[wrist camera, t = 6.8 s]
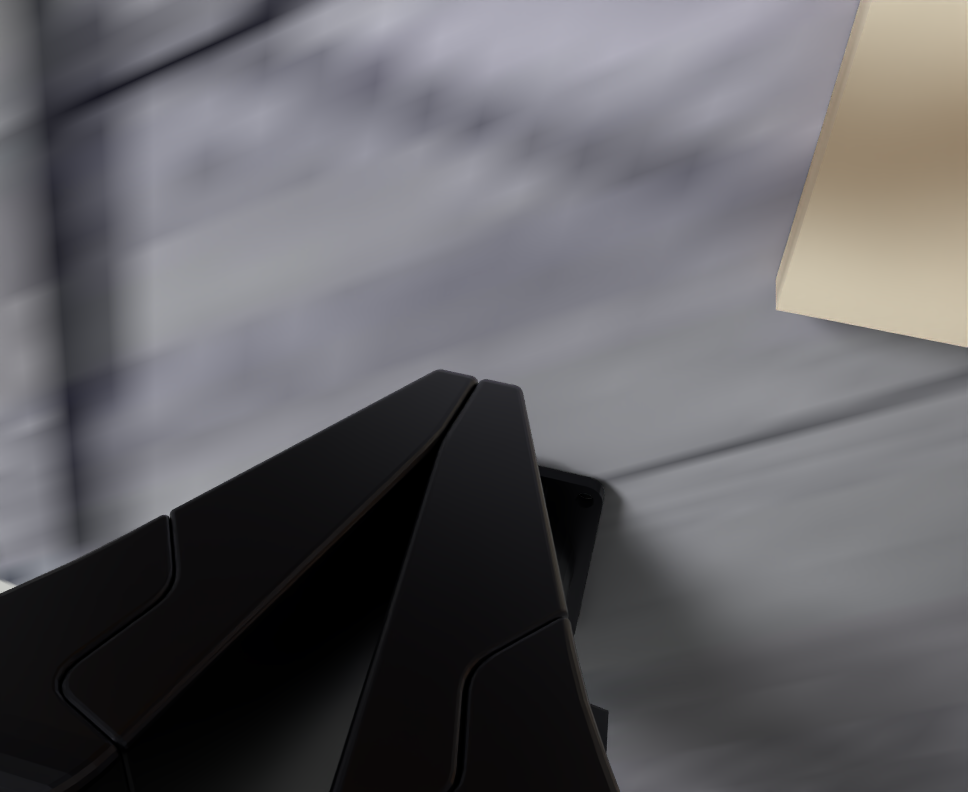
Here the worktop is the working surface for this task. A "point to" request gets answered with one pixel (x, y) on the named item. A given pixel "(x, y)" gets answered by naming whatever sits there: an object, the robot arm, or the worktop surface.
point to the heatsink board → (889, 181)
